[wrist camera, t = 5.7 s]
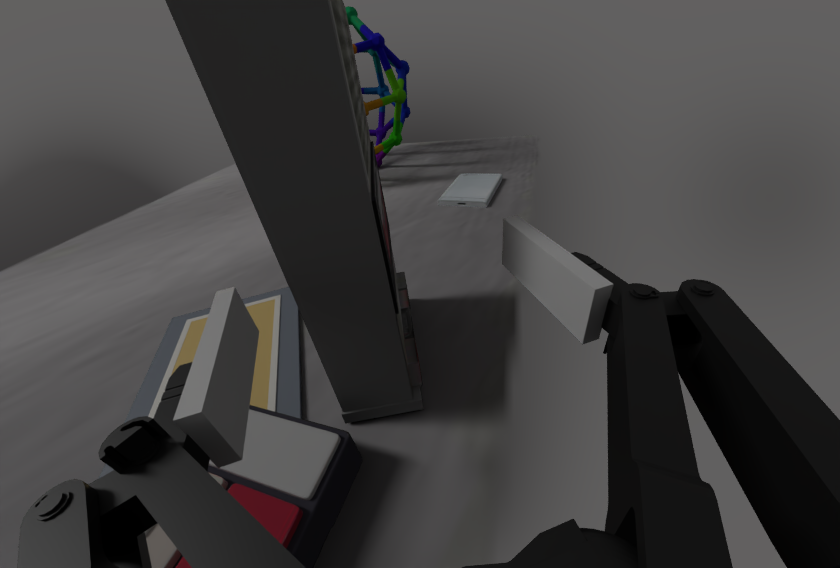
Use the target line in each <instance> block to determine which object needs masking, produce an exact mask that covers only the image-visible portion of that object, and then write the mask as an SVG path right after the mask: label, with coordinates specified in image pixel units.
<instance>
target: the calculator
mask: <svg viewBox="0 0 840 568" xmlns="http://www.w3.org/2000/svg"><path fill="white" fill-rule="evenodd" d="M361 463H362V456H361V454H360V452H359V451H358V449H357V447H356V445H355V443H354V441H353V439H352V437H351V436H350V434H349V433H348V432H347V431H344V430H340V429H337V428H333V427H329V426H326V425H322V424H318V423H315V422H311V421H307V420H304V419H300V418H296V417H293V416H289V415H285V414H282V413H278V412H274V411H271V410H267V409H263V408H260V407H256V406H252V405H250V406H249V413H248V421H247V428H246V436H245V443H244V451H243V458H242V460H241V461H238V462H235V463H232V464H229V465H226V466H223V467H220V468H218V467H217V466H216V465H215V464H214V463H213V462H212V461H211V460H210V461H209V466H208V471H207V472H208V473H209V474H210V475H211V476H212V477H213V478H214V479H215V480H216V481H217V482H218V483H219V484H220V485H221V486H222V487H223V488H224V489H225V490H227V491H228V492H229V493H230V494H231V495H232V496H233V497H234V498H235V499H236V500H237V501H238V502H239V503H240V504H241V505H242V506H243V507H244V508H245V509H246V510H247V511H248V512H249V513H250V514H251V515H252V516H253V517H254V518H255V519H256V520H257V521H258V522H259V523H260V524H261V525H262V526H263V527H264V528H265V529H266V530H267V531H269V532H270V533H271V534H272V535H273V536H274V537H275V538H276V539H277V540H278V541H279V542H280V543H281V544H282V545H283V546H284V547H285V548H286V549H287V550H288V551H289V552H290V553H291V554H292V555H293V556H294V557H295V558H296V559H297V560H298V561H299V562H300V563H301V564H302V565H303V566H304V567H305V568H313V566H314V564H315V562H316V559H317V557H318V555H319V553H320V550H321V548H322V546H323V543H324V541H325V539H326V536H327V534H328V532H329V530H330V529H331V528H332V526H333V525H334V523H335V521H336V519H337V516H338V514H339V512H340V510H341V508H342V505H343V503H344V501H345V499H346V496H347V494H348V492H349V490H350V488H351V485H352V483H353V481H354V479H355V477H356V474H357V472H358V470H359V468H360V465H361ZM145 536H146V541H147V546H148V551H149V555H150V560H151V565H152V568H192V567H191V566H190V565H189V563H188V562H187V561H186V559H185V558H184V557H183V556H182V554H181V553H180V552H179V550H178V549H177V548H176V546H175V545H174V544H173V542H172V541H171V540H170V539H169V537H168V536H167V535H166V533H165V532H164V531H163V529H162V528H161V527H160V526H159V524H158V523H157V524H155V525H154V526H152V527H151V528H149V529H148V530H146V531H145Z"/></svg>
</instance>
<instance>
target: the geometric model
mask: <svg viewBox="0 0 840 568" xmlns="http://www.w3.org/2000/svg"><path fill="white" fill-rule="evenodd" d="M346 14H347V19H348V24H349V25H353V26H354V28H355V29H356V30H357V32H358V33H359V35H360V36H361V37H362V39H363V40H364V41H363V42H359V43H356V44H352V45H353V50H354V54H356V53H359V52H368V53H369V54H370V55H371V56H373V61H374V65H375V69H376V73H377V79H378V83H379V86H378V87H375V88H361V91H362V94H379V96H380V99H377V100H374V101H370V102H368V103H365V102H364V101H363V102H364V107H365V112H366V116H367V115H368V114H369V111H370V110H373V109H376V108H379V123H378V124H379V125H378V128H377V129H376V130H369V133H370V136H376V137H377V141H376V146H375V147H374V149H375V155H376V160H377V165H378V167H380V165H381V164H382V159H383V158H384V157H385V155H386V154H387V153H388V152H389V151H390V150H391V149H392V147H393V146H394V145H395V146H398V145H400V143H401V141H402V136H401V131H402V127H403V124H404V121H405V118H407V117H409V114H410V108H409V107H407V90H406V75H407V74H408V73H409V65H408V63H407V62H406V61H403V60H401V61H400V60H399V59H398V58H397V57H396V56H395V55H394V54H393V53H392V52H391V51H390V50H389V49H388V48H387V47H386V46H385V44H384V38H383V37H382V36H381V35H380V34H379V33H373V32H372V31H371V30H370V29H369V28H368V27H367V26H366V25H365V24H364V23H363V22H362V21H361V20H360V19H359V18H358V17H357V11H356V10H355V9H354V8H353V7H346ZM380 61H381V64H382V66H383V68H384V71H385V73H386V75H387V78H388V80H389V83H390V85H391V88H392V90H393V93H392V94H390V93H389V89H388V86H386V85H385V83H384V78H383V73H382V68H381V64H380ZM390 64H391V65H392V66H394V67H395V68H396V72H397V73H398V80H396V78H395V75H394V73H393V71H392V68H391V66H390ZM390 103H392V104H393V105H394V106H395V113H394V118H392V119H391V120H390V121H389V122H388V123H387V124H386V125H385V126H384V117H385V105H387V104H390ZM391 127H393V132H392V133H391V135H390V136H389V139H387V140H386V141H384V142H382V139H383V138H385V136H386V133H387V131H388V130H389V129H390V128H391Z"/></svg>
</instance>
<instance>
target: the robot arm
mask: <svg viewBox="0 0 840 568" xmlns="http://www.w3.org/2000/svg"><path fill="white" fill-rule="evenodd" d="M502 264H503V265H504V266H505V267H506V268H507V269H508V270H509V271H510V272H511V273H512V274H513V275H514V276H515V277H516V278H517V279H518V280H519V281H520V282H521V283H522V284H523V285H524V286H525V287H526V288H527V289H528V290H529V291H530V292H531V293H532V294H533V295H534V296H535V297H536V298H537V299H538V300H539V301H540V302H541V303H542V304H543V305H544V306H545V307H546V308H547V309H548V310H549V311H550V312H551V313H552V314H553V315H554V316H555V317H556V318H557V319H558V320H559V321H560V322H561V323H562V324H563V325H564V326H565V327H566V328H567V329H568V330H569V331H570V332H571V333H572V334H573V335H574V336H575V337H576V338H577V339H578V340H579V341H580V342H581V343H582V344H585V343H588V342H591V341H594V340H597V339H599V335H600V332H601V329H602V328H603V329H604V330H605V331H607V332H608V333H609V335H608V338H607V342H606V345H605V349H604V352H603V353H604V354H606V353H607V384H608V385H607V390H608V391H607V392H608V496H609V497H608V502H609V503H608V512H607V518H606V524H605V531H600V530H596V529H588V528H579V527H578V525H577V524H576V522H575V520H574V519H571V520H569V521H567V522H565V523H562V524H560V525H558V526H556V527H553V528H551V529H549V530H546V531H544V532H542V533H540V534H539V535H538V536H537V537H536V538H534V539H533V540H532V541H531V542H530V543H529V544H528V545H527V546H526V547H525V548H524V549H523V550H522V551H521V552H520V553H518V554H517V555H516V556H515V557H514V558H513V559H512V560H511V561H509V562H507V563H499V564H487V565H475V566H465V567H462V568H733V567H732V563H731V559H730V554H729V550H728V546H727V542H726V537H725V533H724V529H723V524H722V520H721V516H720V511H719V507H718V503H717V499H716V496H715V493H714V490H713V489H712V487H711V486H710V484H708V483H706V482H703V481H702V480H701V478H700V476H699V473H698V468H697V463H696V458H695V453H694V448H693V444H692V438H691V434H690V429H689V424H688V420H687V414H686V410H685V404H684V400H683V395H682V390H681V385H680V380H679V375H678V373H679V374H680V376H681V378H682V380H683V381H684V384H685V385H686V387H687V389H688V391H689V393H690V394H691V396H692V398H693V400H694V402H695V404H696V405H697V407H698V409H699V411H700V413H701V415H702V416H703V418H704V420H705V422H706V424H707V425H708V427H709V429H710V431H711V433H712V435H713V436H714V438H715V440H716V442H717V444H718V446H719V447H720V449H721V451H722V453H723V455H724V456H725V458H726V460H727V462H728V464H729V466H730V467H731V469H732V471H733V473H734V475H735V476H736V478H737V480H738V482H739V484H740V486H741V487H742V489H743V491H744V493H745V495H746V496H747V498H748V500H749V502H750V504H751V506H752V507H753V509H754V511H755V513H756V515H757V516H758V518H759V520H760V522H761V524H762V526H763V527H764V529H765V531H766V533H767V535H768V536H769V538H770V540H771V542H772V544H773V545H774V547H775V549H776V550H777V552H778V554H779V555H780V557H781V559H782V560H783V562H784V563H785V565H786V567H787V568H840V420H839V419H838V418H837V417H836V416H835V415H834V413H833V412H832V411H831V410H830V409H829V408H828V406H826V404H825V403H824V402H823V401H822V400H821V399H820V398H819V396H818V395H817V394H816V393H815V392H814V391H813V390H812V389H811V387H810V386H809V385H808V384H807V383H806V382H805V381H804V380H803V379H802V378H801V376H800V375H799V374H798V373H797V372H796V371H795V370H794V368H793V367H792V366H791V365H790V364H789V363H788V362H787V361H786V360H785V359H784V357H783V356H782V355H781V354H780V353H779V352H778V351H777V350H776V349H775V347H774V346H773V345H772V344H771V343H770V342H769V341H768V339H767V338H766V337H765V336H764V335H763V334H762V333H761V332H760V330H759V329H758V328H757V327H756V326H755V325H754V324H753V323H752V322H751V321H750V319H749V318H748V317H747V316H746V315H745V314H744V313H743V311H742V310H741V309H740V308H739V307H738V306H737V305H736V304H735V303H734V301H733V300H732V299H731V298H730V297H729V296H728V295H727V294H726V292H725V291H724V290H722V289H721V288H720V287H719V286H717V285H715V284H713V283H711V282H708V281H704V280H695V279H693V280H686V281H684V282H682V284H681V286H680V288H679V290H678V291H675V292H659V291H658V290H656V289H655V288H653V287H651V286H648V285H644V284H637V283H635V284H634V283H632V284H628V283H626V282H625V281H623V280H622V279H620V278H619V277H617V276H616V275H615V274H613V273H612V272H610V271H609V270H607V269H606V268H603V266H601V265H600V264H598V263H596V262H595V261H594V260H593V259H591V258H590V257H588V256H586V255H583V254H580V253H577V252H574V253H569V252H568V251H567V250H565V249H564V248H562V247H561V246H559V245H558V244H557V243H555V242H554V241H553V240H551V239H550V238H548V237H547V236H546V235H544V234H543V233H541V232H540V231H538V230H537V229H536V228H534V227H533V226H532V225H530V224H529V223H527V222H526V221H525V220H523V219H522V218H520V217H519V216H518V215H515V216H511V217H508V218H504V219H503V251H502ZM258 338H259V330H258V328H257V326H256V325H255V323H254V321H253V319H252V317H251V316H250V314H249V312H248V310H247V308H246V306H245V305H244V303H243V301H242V299H241V297H240V295H239V294H238V292H237V290H236V288H235V287H232V288H228V289H224V290H220V291H217V292H216V295H215V298H214V300H213V303H212V306H211V309H210V312H209V315H208V318H207V321H206V324H205V327H204V330H203V333H202V336H201V339H200V342H199V345H198V348H197V351H196V354H195V357H194V359H193V362H190V363H187V364H183V365H180V366H179V367H178V368H177V369H176V370H175V372H174V373H173V374H172V375H171V376H170V378H169V380H168V382H167V385H166V387H165V392H164V393H163V395H162V398H161V402H160V403H159V405H158V408H157V410H156V413H155V415H154V418H151V417H148V416H143V417H137V418H134V419H132V420H129V421H127V422H126V423H124V424H122V425H121V426H119V427H118V428H117V429H115V430H114V431H113V432H112V433H111V434H110V435H109V436H108V437H107V438H106V440H105V441H104V442H103V443H102V445H101V448H100V450H99V457H100V460H102V461H103V462H104V463H106V464H107V465H108V466H110V467H111V468H112V469H114V470H113V471H111V472H110V473H108V474H106V475H104V476H103V477H101V478H99V479H97V480H95V481H94V482H92V483H90V484H86V483H85V482H83V481H81V480H77V479H73V480H69V481H65V482H63V483H61V484H59V485H57V486H55V487H53V488H52V489H50V490H49V491H48V492H46V493H45V494H44V495H42V496H41V497H40V498H39V499H38V500H37V501H36V502H35V503H34V504H33V505H32V506H31V507H30V509H29V510H28V512H27V513H26V515H25V516H24V518H23V521H22V524H21V527H20V538H19V551H18V563H17V568H152V565H151V560H150V555H149V551H148V546H147V541H146V536H145V531H146V530H148V529H149V528H151V527H152V526H154V525H155V524H157V523H158V524H159V526H160V527H161V528H162V529H163V531H164V532H165V533H166V535H167V536H168V537H169V539H170V540H171V541H172V542H173V544H174V545H175V546H176V548H177V549H178V550H179V552H180V553H181V554H182V556H183V557H184V558H185V559H186V561H187V562H188V563H189V565H190V566H191V567H192V568H305V567H304V566H303V565H302V564H301V563H300V562H299V561H298V560H297V559H296V558H295V557H294V556H293V555H292V554H291V553H290V552H289V551H288V550H287V549H286V548H285V547H284V546H283V545H282V544H281V543H280V542H279V541H278V540H277V539H276V538H275V537H274V536H273V535H272V534H271V533H270V532H269V531H267V530H266V529H265V528H264V527H263V526H262V525H261V524H260V523H259V522H258V521H257V520H256V519H255V518H254V517H253V516H252V515H251V514H250V513H249V512H248V511H247V510H246V509H245V508H244V507H243V506H242V505H241V504H240V503H239V502H238V501H237V500H236V499H235V498H234V497H233V496H232V495H231V494H230V493H229V492H228V491H227V490H225V489H224V488H223V487H222V486H221V485H220V484H219V483H218V482H217V481H216V480H215V479H214V478H213V477H212V476H211V475H210V474H209V473H208V472H207V471H208V466H209V461H210V460H211V461H212V462H213V463H214V464H215V465H216V466H217V467H218V468H220V467H223V466H226V465H229V464H232V463H235V462H238V461H241V460H242V458H243V451H244V443H245V436H246V428H247V421H248V413H249V406H250V398H251V391H252V383H253V376H254V368H255V361H256V353H257V346H258Z"/></svg>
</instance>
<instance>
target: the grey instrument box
mask: <svg viewBox="0 0 840 568" xmlns="http://www.w3.org/2000/svg"><path fill="white" fill-rule="evenodd" d="M166 3H167V5H168V7H169V10H170V12H171V14H172V17H173V19H174V21H175V23H176V26H177V28H178V31H179V32H180V35H181V37H182V40H183V42H184V44H185V47H186V49H187V51H188V54H189V56H190V58H191V60H192V63H193V65H194V68H195V70H196V72H197V75H198V77H199V79H200V81H201V84H202V86H203V88H204V91H205V93H206V95H207V97H208V100H209V102H210V104H211V107H212V109H213V112H214V114H215V116H216V118H217V121H218V123H219V125H220V128H221V130H222V132H223V135H224V137H225V139H226V142H227V144H228V146H229V148H230V151H231V153H232V155H233V158H234V160H235V163H236V165H237V167H238V169H239V172H240V174H241V176H242V179H243V181H244V183H245V186H246V188H247V190H248V193H249V195H250V197H251V200H252V202H253V204H254V207H255V209H256V211H257V213H258V216H259V218H260V220H261V223H262V225H263V227H264V230H265V232H266V234H267V237H268V239H269V241H270V244H271V246H272V248H273V251H274V253H275V255H276V257H277V260H278V262H279V264H280V267H281V269H282V271H283V274H284V276H285V278H286V281H287V283H288V285H289V288H290V290H291V292H292V295H293V297H294V299H295V301H296V304H297V306H298V308H299V311H300V313H301V315H302V318H303V320H304V322H305V325H306V327H307V329H308V332H309V334H310V336H311V339H312V341H313V343H314V346H315V348H316V350H317V352H318V355H319V357H320V359H321V362H322V364H323V366H324V369H325V371H326V373H327V376H328V378H329V380H330V383H331V385H332V387H333V390H334V392H335V394H336V396H337V399H338V401H339V403H340V406H341V408H342V417H343V419H344V421H345V423H350V422H356V421H361V420H366V419H372V418H377V417H383V416H388V415H394V414H399V413H405V412H410V411H416V410H421V409H423V404H422V397H421V390H420V385H422V379H421V372H420V366H419V360H418V354H417V349H416V343H415V337H414V331H413V325H412V319H411V313H410V303H409V296H408V290H407V285H406V279H405V273H404V272H400V273H396V268H395V263H394V257H393V252H392V247H391V239H390V230H389V223H388V218H387V212H386V207H385V202H384V197H383V191H382V186H381V181H380V176H379V170H378V165H377V160H376V155H375V149H374V144H373V142H370V133H369V127H368V123H367V117H366V112H365V107H364V102H363V97H362V91H361V86H360V81H359V76H358V71H357V65H356V60H355V55H354V50H353V45H352V40H351V35H350V30H349V24H348V19H347V14H346V8H345V6H344V3H343V1H342V0H166Z"/></svg>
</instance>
